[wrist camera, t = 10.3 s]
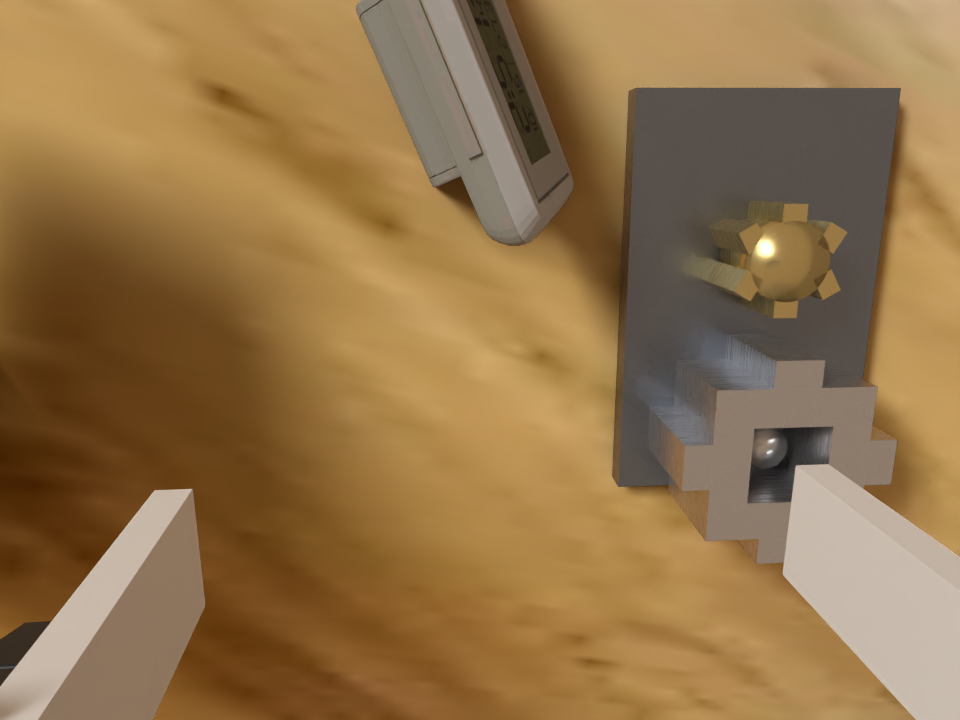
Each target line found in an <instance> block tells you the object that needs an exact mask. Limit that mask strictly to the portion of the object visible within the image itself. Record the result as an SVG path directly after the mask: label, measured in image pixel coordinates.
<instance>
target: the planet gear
mask: <svg viewBox="0 0 960 720" xmlns="http://www.w3.org/2000/svg"><path fill="white" fill-rule="evenodd" d="M877 388H878V387H877V386H875V385H873V384H871V383H869V382H867V381H865V380H863V379H860V378H858V377H856V376H854V375H852V374H850V373H848V372H846V371H844V370H842V369H839V368H837V367H835V366H833V365H831V364H829V363H827V362H825V360H824V359H822V358H820V357H818V356H816V355H813V354H811V353H809V352H807V351H805V350H803V349H801V348H799V347H796V346H794V345H792V344H790V343H788V342H786V341H784V340H782V339H780V338H777V337H775V336H773V335H771V334H728V335H727V347H726V359H689V360H677V365H676V381H675V396H674V407H662V408H650V412H649V430H648V449H649V450H650V451H651V452H652V454H653V455H654V456H655V457H656V459H657V460H658V461H659V463H660V464H661V465H662V466H663V468H664V469H665V470H666V471H667V473H668V474H669V490H668V491H669V493H670V494H671V495H672V497H673V498H674V499H675V501H676V502H677V503H678V505H679V506H680V507H681V509H682V510H683V511H684V513H685V514H686V516H687V517H688V518H689V520H690V521H691V522H692V524H693V525H694V526H695V528H696V529H697V530H698V532H699V533H700V534H701V536H702V537H703V538H704V540H705V541H720V540H737V541H738V542H739V543H740V544H741V545H742V547H743V548H744V549H745V550H746V551H747V553H748V554H749V555H750V556H751V557H752V559H753V560H754V561H755V562H756V564H761V563H784V558H785V550H786V542H787V534H788V525H789V517H790V509H791V501H792V493H793V484H794V476H795V468H796V465H819V464H829V465H830V466H832V467H833V468H834V469H836V470H837V471H839V472H840V473H841V474H843V475H844V476H846V477H847V478H849V479H850V480H851V481H853V482H854V483H856V484H857V485H858V486H860V487H861V488H863V489H864V485H888V484H891V480H892V473H893V467H894V460H895V453H896V446H897V439H895V438H893V437H891V436H890V435H888V434H886V433H884V432H883V431H881V430H879V429H877V428H876V427H874V426H872V425H873V418H874V410H875V403H876V396H877ZM761 428H774V429H776V430H777V431H778V432H780V433H781V434H782V435H783V436H784V437H785V439H786V442H787V452H786V455H785V457H784V458H783V460H782V461H781V462H780V463H779V464H777V465H776V466H774V467H771V468H759V467H756V466H754V465H753V464H752V463H751V458H752V447H753V437H754V429H761Z"/></svg>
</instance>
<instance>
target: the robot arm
mask: <svg viewBox="0 0 960 720" xmlns="http://www.w3.org/2000/svg"><path fill="white" fill-rule="evenodd" d="M783 576H784V577H785V578H786V579H787V580H788V581H789V582H790V583H791V584H792V586H793V587H794V588H795V589H796V590H797V591H798V592H799V593H800V594H801V595H802V596H803V597H804V599H805V600H806V601H807V602H808V603H809V604H810V605H811V606H812V607H813V608H814V609H815V611H816V612H817V613H818V614H819V615H820V616H821V617H822V618H823V619H824V620H825V621H826V622H827V624H828V625H829V626H830V627H831V628H832V629H833V630H834V631H835V632H836V633H837V634H838V636H839V637H840V638H841V639H842V640H843V641H844V642H845V643H846V644H847V645H848V646H849V647H850V649H851V650H852V651H853V652H854V653H855V654H856V655H857V656H858V657H859V658H860V659H861V661H862V662H863V663H864V664H865V665H866V666H867V667H868V668H869V669H870V670H871V671H872V672H873V674H874V675H875V676H876V677H877V678H878V679H879V680H880V681H881V682H882V683H883V684H884V686H885V687H886V688H887V689H888V690H889V691H890V692H891V693H892V694H893V695H894V696H895V697H896V699H897V700H898V701H899V702H900V703H901V704H902V705H903V706H904V707H905V708H906V709H907V711H908V712H909V713H910V714H911V715H912V716H913V717H914V718H915V719H916V720H960V557H959V556H958V555H956V554H955V553H953V552H952V551H951V550H949V549H948V548H946V547H945V546H944V545H942V544H941V543H939V542H938V541H936V540H935V539H934V538H932V537H931V536H929V535H928V534H927V533H925V532H924V531H922V530H921V529H919V528H918V527H917V526H915V525H914V524H912V523H911V522H910V521H908V520H907V519H905V518H904V517H902V516H901V515H900V514H898V513H897V512H895V511H894V510H893V509H891V508H890V507H888V506H887V505H885V504H884V503H883V502H881V501H880V500H878V499H877V498H875V497H874V496H873V495H871V494H870V493H868V492H867V491H866V490H864V489H863V488H861V487H860V486H858V485H857V484H856V483H854V482H853V481H851V480H850V479H849V478H847V477H846V476H844V475H843V474H841V473H840V472H839V471H837V470H836V469H834V468H833V467H832V466H830V465H829V464H819V465H796V468H795V476H794V484H793V493H792V501H791V509H790V517H789V525H788V534H787V542H786V550H785V558H784V566H783ZM205 606H206V605H205V596H204V587H203V578H202V569H201V560H200V551H199V542H198V533H197V523H196V514H195V505H194V496H193V489H176V490H154V492H153V493H152V494H151V495H150V497H149V498H148V499H147V501H146V502H145V503H144V504H143V506H142V507H141V508H140V509H139V511H138V512H137V513H136V515H135V516H134V517H133V518H132V520H131V521H130V522H129V523H128V525H127V526H126V527H125V528H124V530H123V531H122V532H121V534H120V535H119V536H118V537H117V539H116V540H115V541H114V542H113V544H112V545H111V546H110V548H109V549H108V550H107V551H106V553H105V554H104V555H103V556H102V558H101V559H100V560H99V562H98V563H97V564H96V565H95V567H94V568H93V569H92V570H91V572H90V573H89V574H88V576H87V577H86V578H85V579H84V581H83V582H82V583H81V584H80V586H79V587H78V588H77V590H76V591H75V592H74V593H73V595H72V596H71V597H70V598H69V600H68V601H67V602H66V604H65V605H64V606H63V607H62V609H61V610H60V611H59V612H58V614H57V615H56V616H55V618H54V619H53V620H52V621H48V622H30V623H24V624H23V625H21V626H20V627H18V628H17V629H15V630H14V631H12V632H11V633H9V634H8V635H6V636H5V637H3V638H2V639H0V720H153V718H154V716H155V714H156V711H157V709H158V707H159V705H160V703H161V701H162V698H163V696H164V694H165V692H166V690H167V688H168V685H169V683H170V681H171V679H172V677H173V675H174V673H175V670H176V668H177V666H178V664H179V662H180V660H181V657H182V655H183V653H184V651H185V649H186V647H187V644H188V642H189V640H190V638H191V636H192V634H193V631H194V629H195V627H196V625H197V623H198V621H199V618H200V616H201V614H202V612H203V610H204V608H205Z"/></svg>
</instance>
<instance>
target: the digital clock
mask: <svg viewBox="0 0 960 720" xmlns="http://www.w3.org/2000/svg"><path fill="white" fill-rule="evenodd" d="M356 12H357V14H358V17H359V19H360V21H361V24H362V26H363V28H364V30H365V33H366V35H367V37H368V40H369V42H370V44H371V47H372V49H373V51H374V53H375V56H376V58H377V60H378V63H379V65H380V67H381V69H382V72H383V74H384V76H385V79H386V81H387V83H388V86H389V88H390V90H391V92H392V95H393V97H394V99H395V102H396V104H397V106H398V109H399V111H400V113H401V115H402V118H403V120H404V122H405V125H406V127H407V129H408V132H409V134H410V136H411V138H412V141H413V143H414V145H415V148H416V150H417V152H418V154H419V157H420V159H421V161H422V164H423V166H424V168H425V171H426V173H427V175H428V177H429V178H430V177H431V178H430V179H429V180H430V182H431V184H432V186H433V187H437V186H440V185H442V184H444V183H447V182H449V181H451V180H454V179H456V178H458V177H462V180H463V182H464V184H465V187H466V189H467V192H468V194H469V196H470V199H471V201H472V203H473V205H474V208H475V210H476V212H477V215H478V217H479V219H480V221H481V224H482V226H483V228H484V230H485V232H486V233H487V235H488V236H489V237H490V238H492V239H493V240H495V241H497V242H499V243H502V244H506V245H509V246H519V245H523V244H526V243H529V242H531V241H532V240H533V239H534V238H535V237H536V236H537V235H538V234H539V233H540V232H541V231H542V230H543V228H544V227H545V226H546V225H547V224H548V223H549V221H550V220H551V219H552V218H553V217H554V216H555V214H556V213H557V212H558V211H559V210H560V209H561V208H562V206H563V205H564V203H565V202H566V200H567V199H568V197H569V195H570V194H571V192H572V190H573V188H574V182H573V178H572V175H571V172H570V169H569V167H568V164H567V161H566V159H565V156H564V153H563V151H562V148H561V145H560V143H559V140H558V137H557V135H556V132H555V129H554V127H553V124H552V122H551V119H550V116H549V114H548V111H547V109H546V106H545V103H544V101H543V98H542V95H541V93H540V90H539V88H538V85H537V82H536V80H535V77H534V75H533V72H532V69H531V67H530V64H529V62H528V59H527V56H526V54H525V51H524V48H523V46H522V43H521V41H520V38H519V35H518V33H517V30H516V28H515V25H514V22H513V20H512V17H511V14H510V12H509V9H508V7H507V4H506V1H505V0H361V1H360V2H358V4H357V5H356Z"/></svg>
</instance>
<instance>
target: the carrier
mask: <svg viewBox="0 0 960 720" xmlns="http://www.w3.org/2000/svg"><path fill="white" fill-rule="evenodd" d="M900 91H901V88H635V89H633V90H630V91H629V98H628V121H627V144H626V168H625V191H624V214H623V237H622V261H621V284H620V307H619V331H618V354H617V377H616V401H615V424H614V447H613V470H612V477H613V479H614V480H615V482H616V484H617V485H618V487H626V486H657V485H669V474H668V473H667V471H666V470H665V469H664V468H663V466H662V465H661V464H660V463H659V461H658V460H657V459H656V457H655V456H654V455H653V454H652V452H651V451H650V450H649V449H648V430H649V412H650V408H662V407H674V396H675V381H676V365H677V360H689V359H726V347H727V335H728V334H771V335H773V336H775V337H777V338H780V339H782V340H784V341H786V342H788V343H790V344H792V345H794V346H796V347H799V348H801V349H803V350H805V351H807V352H809V353H811V354H813V355H816V356H818V357H820V358H822V359H824V360H825V362H827V363H829V364H831V365H833V366H835V367H837V368H839V369H842V370H844V371H846V372H848V373H850V374H852V375H854V376H856V377H858V378H860V379H863V373H864V366H865V358H866V351H867V343H868V335H869V328H870V320H871V312H872V305H873V297H874V289H875V282H876V274H877V266H878V259H879V251H880V244H881V236H882V228H883V221H884V213H885V205H886V198H887V190H888V182H889V175H890V167H891V160H892V152H893V144H894V137H895V129H896V121H897V114H898V106H899V98H900ZM786 452H787V442H786V439H785V437H784V436H783V435H782V434H781V433H780V432H778V431H777V430H776V429H774V428H761V429H754V437H753V447H752V458H751V463H752V464H753V465H754V466H756V467H759V468H771V467H774V466H776V465H777V464H779V463H780V462H781V461H782V460H783V458H784V457H785V455H786Z"/></svg>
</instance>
